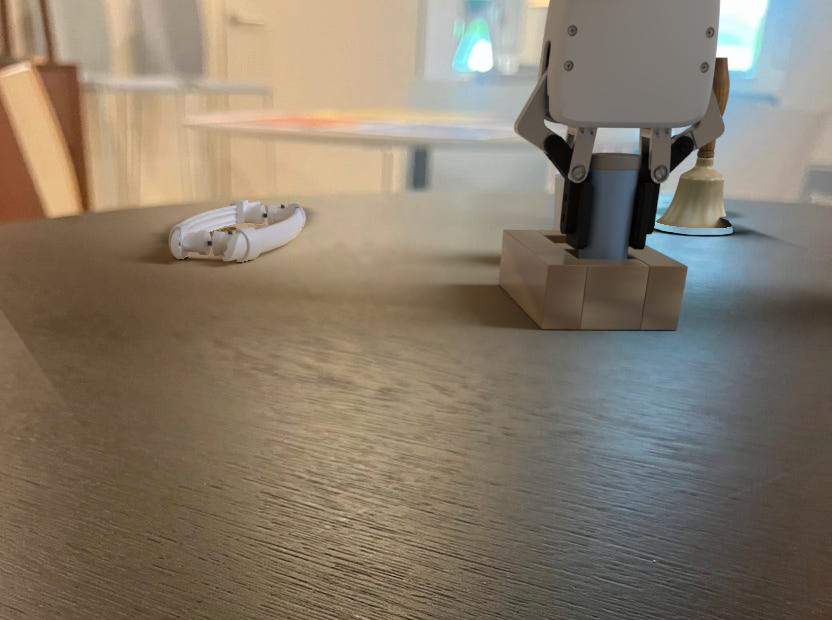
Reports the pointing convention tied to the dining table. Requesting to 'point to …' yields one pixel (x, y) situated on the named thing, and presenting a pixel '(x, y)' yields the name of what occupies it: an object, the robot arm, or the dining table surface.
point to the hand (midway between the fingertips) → (604, 243)
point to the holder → (590, 285)
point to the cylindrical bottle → (611, 204)
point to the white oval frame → (237, 230)
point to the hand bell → (702, 176)
